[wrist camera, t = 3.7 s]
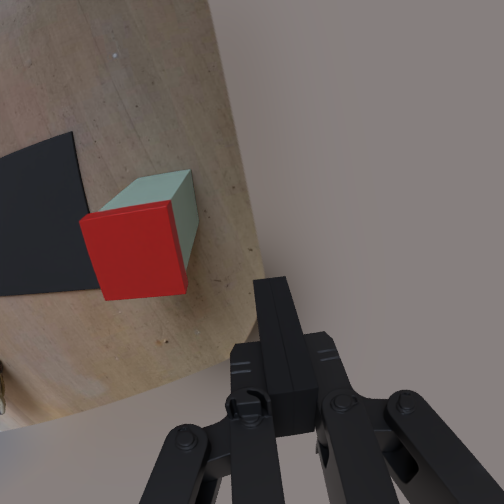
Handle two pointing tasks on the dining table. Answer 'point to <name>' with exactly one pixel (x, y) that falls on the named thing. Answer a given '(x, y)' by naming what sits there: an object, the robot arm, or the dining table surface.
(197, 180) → the dining table surface
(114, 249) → the container
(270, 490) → the robot arm
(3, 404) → the bowl
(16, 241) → the mat
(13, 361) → the dining table surface
